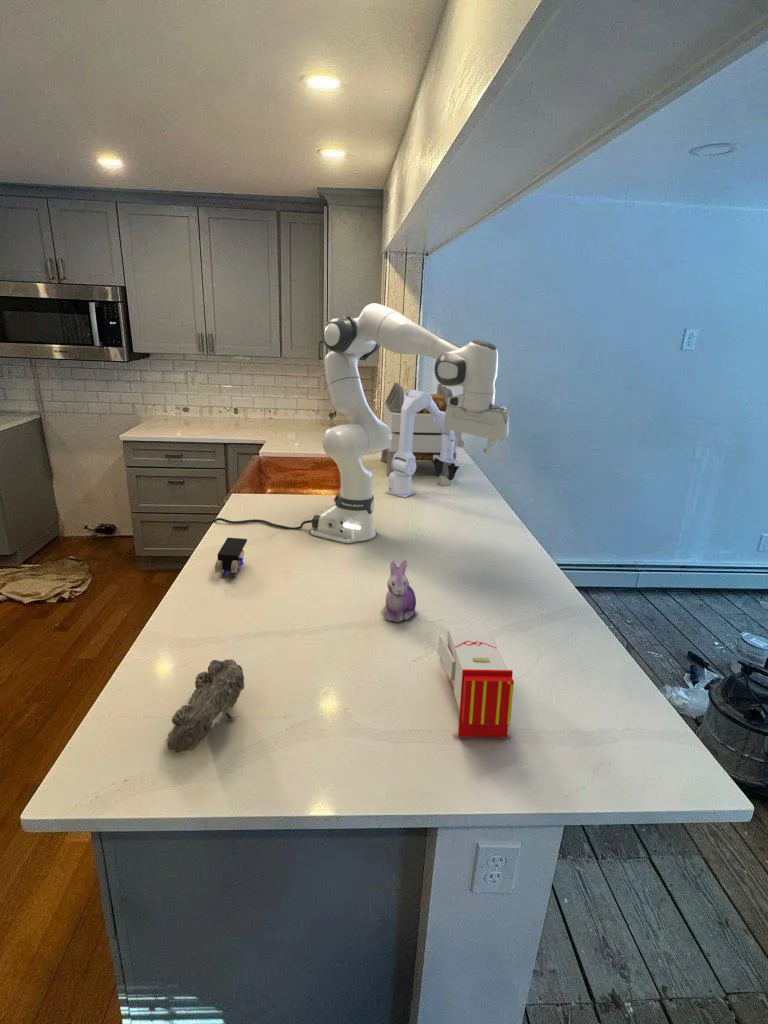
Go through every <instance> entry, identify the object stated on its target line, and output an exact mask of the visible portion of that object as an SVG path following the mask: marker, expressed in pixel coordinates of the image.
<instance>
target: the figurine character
mask: <svg viewBox="0 0 768 1024" xmlns="http://www.w3.org/2000/svg"><path fill="white" fill-rule="evenodd" d="M247 542H248V538H240V537H226V539H225V541H224V543H223V544H222V546H221V547H220V549H219V551H218V552H217V560H216V562H215V564H214V572H215V573H221V577H222V578H224V577H225V576H226V574H227V573H230V574H231V573H232V574H231V578H234V577H235V575H236V573H237V572H239V571H240V567H242V566H243V565H244V564H245V562H244V558H245V551H244V547H245V546H246V544H247Z"/></svg>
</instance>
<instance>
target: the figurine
mask: <svg viewBox="0 0 768 1024" xmlns="http://www.w3.org/2000/svg"><path fill="white" fill-rule="evenodd" d="M407 567H408V559H406V558H404V559H403V560H402V561H401V563H400V565H399V566H398V565H397V563H396V562H395V561H394V560H393V559H391V560H390V561H389V570H390V576H389V578H388V579H387V589H388V591H387V592H386V594H385V595H386V596H385V607H384V615H385V616H386V620H387V621H391V622H395V623H400V622H402V621H406V620H409V619H410V618H411V617H413V616H414V615H415V610H416V606H417V597H416V593H415V591H414V590H413V587H411V586H410V582H409V579H408V577H407V574H406V571H407Z"/></svg>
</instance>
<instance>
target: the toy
mask: <svg viewBox="0 0 768 1024" xmlns="http://www.w3.org/2000/svg"><path fill="white" fill-rule="evenodd" d="M446 640H447V643H446V641H445V639H444V636H443V635H442V634H439V637H438V646H437V656H438V657H439V659H440V661H441V663H442V666H443V668H444V670H445V672H446V674H447V677H448V679H449V681H450V684H451V687H452V690H453V693H454V697H455V701H456V705H457V708H458V711H459V714H458V715H459V716H458V730H457V731H458V732H457V737H458V738H508V731H509V726H510V725H511V717H512V707H513V697H514V696H513V695H514V684H515V680H514V679H513V673H514V671H513V670H512V669H508V667H507V665H506V662H505V661H504V659H503V658H502V655H501V653H500V651H499V649H498V647H497V643H496V639H495V637H494V635H493V634H491V632H490V631H489V629H467V628H466V629H465V628H463V629H461V628H460V629H459V628H448V630H447V639H446Z"/></svg>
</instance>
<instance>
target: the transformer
mask: <svg viewBox="0 0 768 1024" xmlns="http://www.w3.org/2000/svg"><path fill="white" fill-rule="evenodd" d="M405 393H406V392H404V387H403V386H401V385H400V384H399V382H394V383H393V385H392V387H391V389H390V392H389V393H388V394H387V398H386V399H385V401H384V404H383V420H384V421H383V422H384V423H385V424H387V425H388V427H389V428H390V430H391V433H392V441H391V444H390V446H389V448H387V449H386V450H383V451H381V461H382V462H386V473H387V476H388V477H389V475H390V474H391V473H392V472H394V470H393V469H392V460H393V458H394V454H395V453H396V452H398V451H399V439H400V423H401V409H402V406H403V401H404V394H405ZM429 394H430V395H431V396H432V400H433V402H434V403H435V405H436V406H437V408H438V409H439V411H443V412H446V408H447V407H448V406H449V405H448V404H447V399H448V398H449V397H453V396H454V395H453V392H452V390H451V389H450V388H448V386H445V385H442V384H440V383H438V384H437V388H436V393H429ZM441 438H442V433H440V431H439V427H438V425H437V424H436V423H435V422H434V420H433V415H432V414H431V413H430V412H429V411H428V410H427V409H426V408H424V409H422V410H420V411H419V412H417V413H416V414H415V415H414V428H413V441H412V453H413V455H414V456H415V461H431V462H433V461H435V460H434V459H433V455H440V451H441ZM456 445H457V441H456V438H455V439H454V449H453V458H454V459H455V460H457V446H456ZM448 465H451V464H449V463H446V462H444V463H443V466H442V472H441V474H442V473H445V474H449V470H448ZM455 476H456V474H455V475H454V477H455Z"/></svg>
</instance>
